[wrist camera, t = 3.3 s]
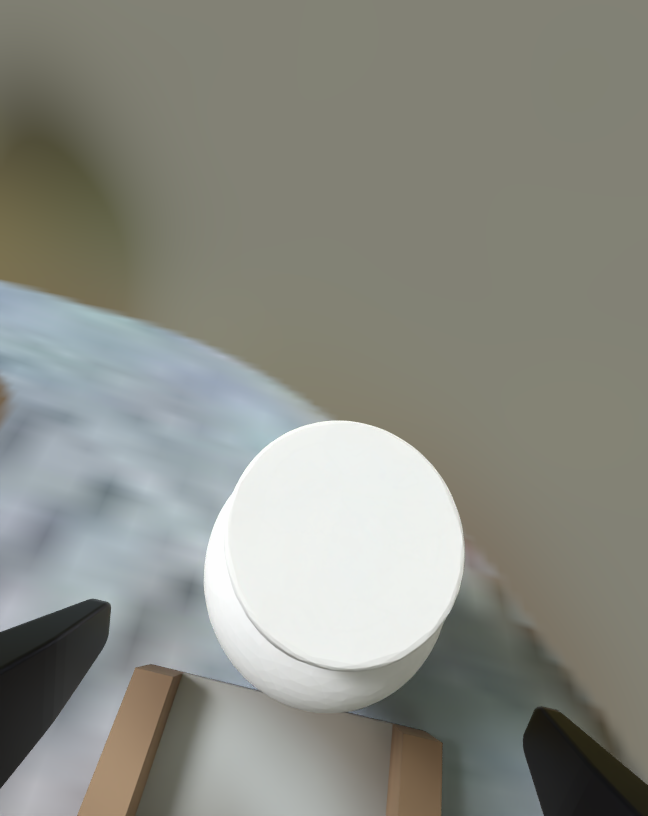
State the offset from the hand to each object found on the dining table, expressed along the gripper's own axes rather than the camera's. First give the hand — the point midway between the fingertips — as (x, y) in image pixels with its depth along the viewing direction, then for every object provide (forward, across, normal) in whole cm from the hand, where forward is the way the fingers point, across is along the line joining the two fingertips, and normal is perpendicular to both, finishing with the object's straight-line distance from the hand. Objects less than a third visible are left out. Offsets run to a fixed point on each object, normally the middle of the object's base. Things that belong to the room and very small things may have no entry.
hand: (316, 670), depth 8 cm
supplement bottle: (+9, 0, -6) cm, 11 cm away
